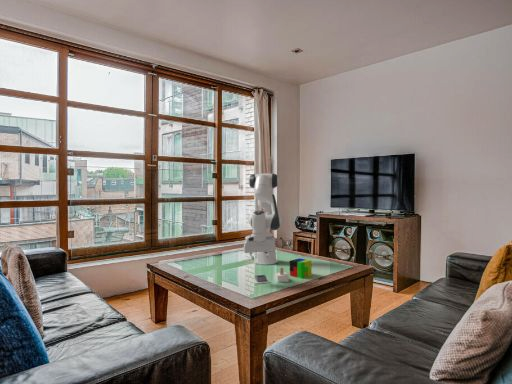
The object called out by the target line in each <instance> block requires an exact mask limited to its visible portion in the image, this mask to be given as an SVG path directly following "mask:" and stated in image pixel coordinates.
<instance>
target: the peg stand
mask: <svg viewBox="0 0 512 384" xmlns="http://www.w3.org/2000/svg"><path fill="white" fill-rule="evenodd" d="M278 271H279V272H274V280H275V281H276V282H277V283H285V282H286V283H287V282H289V281H290V278H289V277H290V274H288V273H287V272H285V271H284V267H283V266H282V267H281V266H280V267H279V270H278Z"/></svg>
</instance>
